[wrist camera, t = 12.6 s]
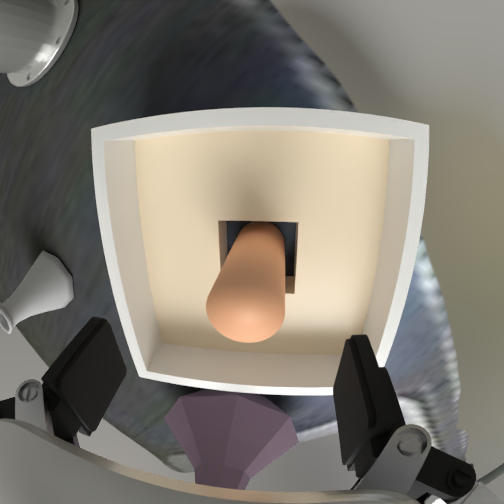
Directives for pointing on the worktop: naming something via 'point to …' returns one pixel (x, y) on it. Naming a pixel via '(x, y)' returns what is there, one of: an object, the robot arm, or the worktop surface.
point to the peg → (250, 286)
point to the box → (259, 209)
